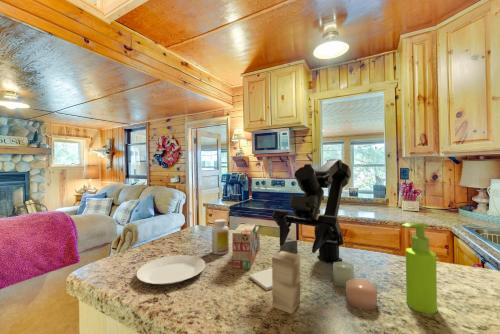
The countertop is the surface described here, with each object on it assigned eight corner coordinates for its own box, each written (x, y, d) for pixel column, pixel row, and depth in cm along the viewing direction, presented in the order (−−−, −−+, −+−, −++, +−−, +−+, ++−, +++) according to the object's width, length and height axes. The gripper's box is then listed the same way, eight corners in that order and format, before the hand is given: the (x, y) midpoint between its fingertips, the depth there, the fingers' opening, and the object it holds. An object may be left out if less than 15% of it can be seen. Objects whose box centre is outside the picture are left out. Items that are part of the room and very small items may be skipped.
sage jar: (343, 276, 70) (343, 260, 70) (358, 285, 65) (358, 267, 65) (329, 280, 68) (328, 263, 68) (343, 289, 63) (343, 271, 63)
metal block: (282, 296, 60) (281, 250, 60) (300, 303, 57) (299, 255, 57) (272, 306, 55) (272, 257, 56) (291, 313, 53) (290, 261, 53)
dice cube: (297, 253, 90) (297, 240, 90) (286, 255, 88) (286, 242, 88) (290, 248, 95) (290, 236, 95) (279, 250, 93) (279, 238, 93)
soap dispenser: (396, 300, 57) (395, 220, 58) (422, 298, 58) (421, 219, 58) (415, 315, 52) (414, 226, 52) (443, 313, 52) (442, 225, 52)
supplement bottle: (232, 251, 93) (231, 219, 93) (221, 256, 87) (221, 223, 87) (219, 248, 96) (219, 217, 96) (208, 253, 91) (208, 221, 91)
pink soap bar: (360, 291, 62) (360, 277, 62) (383, 306, 55) (383, 289, 55) (340, 297, 59) (339, 282, 59) (362, 313, 53) (362, 295, 53)
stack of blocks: (245, 247, 98) (245, 218, 98) (259, 247, 97) (259, 218, 97) (232, 268, 77) (232, 232, 77) (250, 270, 76) (250, 233, 76)
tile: (272, 270, 75) (272, 267, 75) (291, 281, 67) (291, 278, 67) (249, 277, 70) (249, 274, 70) (266, 290, 63) (266, 287, 63)
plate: (175, 257, 88) (175, 251, 88) (218, 268, 77) (218, 262, 77) (122, 280, 70) (122, 272, 70) (167, 299, 59) (167, 290, 59)
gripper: (275, 183, 71) (255, 226, 62) (337, 186, 60) (323, 238, 51) (286, 205, 77) (270, 247, 68) (345, 211, 66) (334, 262, 57)
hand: (296, 248), depth 61 cm, fingers open, 9 cm apart
